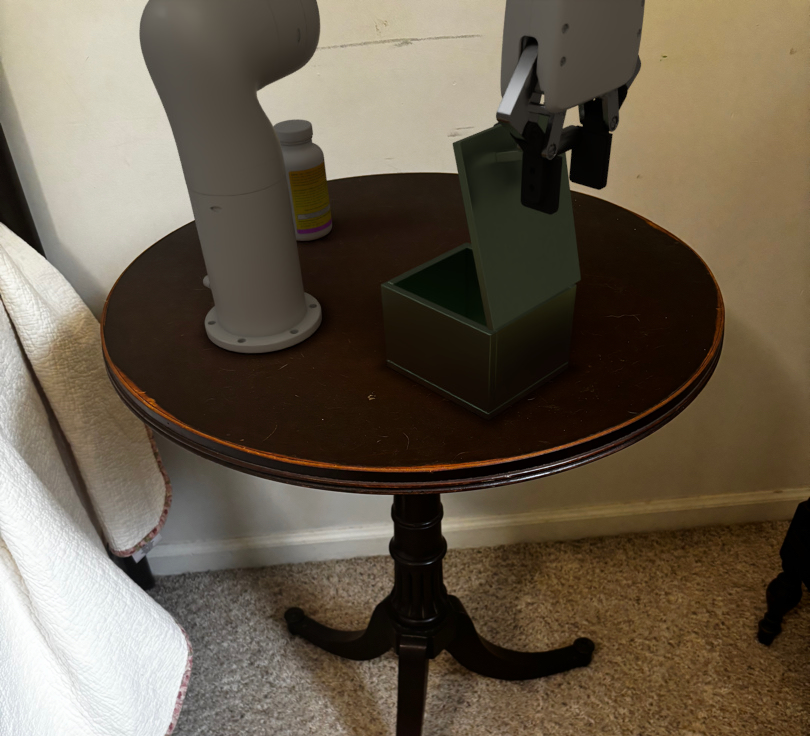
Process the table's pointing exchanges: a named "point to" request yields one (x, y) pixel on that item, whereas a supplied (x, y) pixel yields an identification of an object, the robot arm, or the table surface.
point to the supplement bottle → (305, 179)
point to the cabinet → (471, 336)
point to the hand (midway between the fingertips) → (563, 194)
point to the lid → (515, 225)
